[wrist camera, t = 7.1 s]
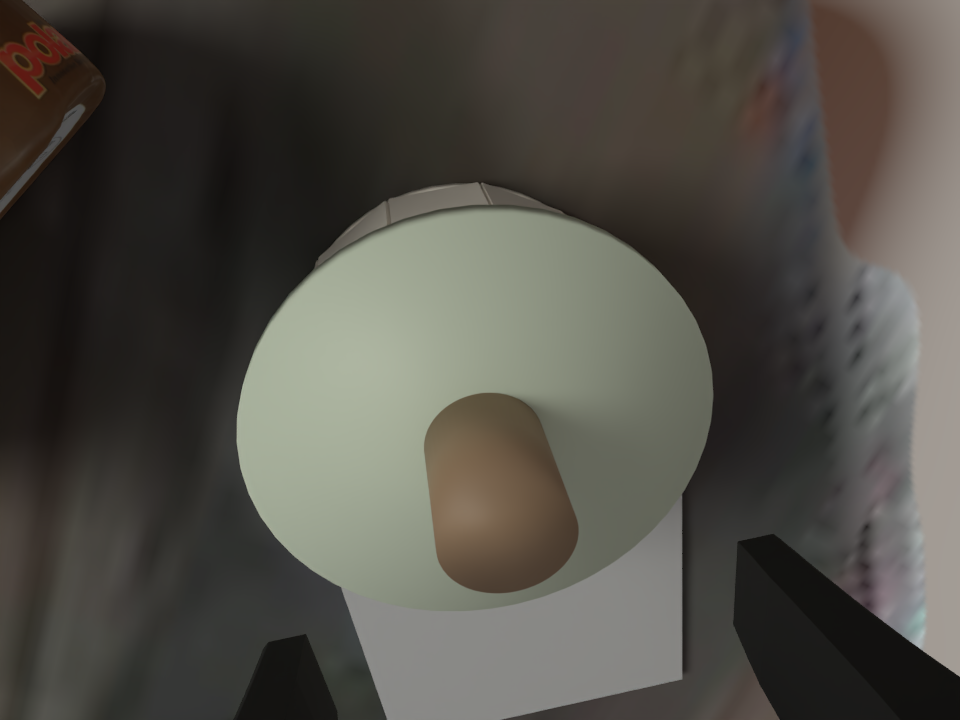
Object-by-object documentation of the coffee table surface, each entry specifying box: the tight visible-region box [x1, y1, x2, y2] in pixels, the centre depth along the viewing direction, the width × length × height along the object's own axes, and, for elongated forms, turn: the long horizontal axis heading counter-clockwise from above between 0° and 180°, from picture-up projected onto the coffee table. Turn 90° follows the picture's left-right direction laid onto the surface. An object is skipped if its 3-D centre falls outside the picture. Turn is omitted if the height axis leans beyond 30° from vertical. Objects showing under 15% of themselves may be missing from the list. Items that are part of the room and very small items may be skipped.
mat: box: [341, 494, 682, 720], centre depth 27 cm, size 12×12×1 cm
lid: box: [237, 205, 713, 611], centre depth 16 cm, size 11×11×4 cm
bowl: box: [314, 182, 566, 269], centre depth 19 cm, size 9×9×4 cm
